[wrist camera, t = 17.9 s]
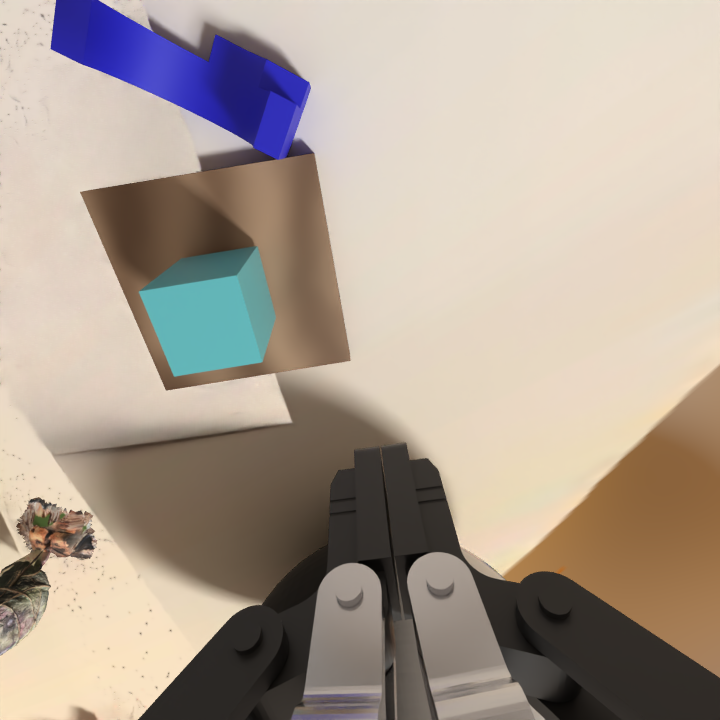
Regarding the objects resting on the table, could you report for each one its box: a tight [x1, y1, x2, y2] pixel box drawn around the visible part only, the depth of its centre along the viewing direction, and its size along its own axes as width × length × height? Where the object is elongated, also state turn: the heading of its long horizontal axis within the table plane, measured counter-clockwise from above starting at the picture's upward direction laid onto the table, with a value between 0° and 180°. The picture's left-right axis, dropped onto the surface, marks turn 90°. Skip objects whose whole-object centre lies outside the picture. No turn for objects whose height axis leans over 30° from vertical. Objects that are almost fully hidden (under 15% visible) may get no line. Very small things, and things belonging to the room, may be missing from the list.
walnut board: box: [80, 153, 351, 390], centre depth 32 cm, size 16×16×1 cm
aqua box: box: [139, 246, 276, 377], centre depth 28 cm, size 6×6×8 cm
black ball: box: [262, 545, 545, 720], centre depth 36 cm, size 30×30×30 cm
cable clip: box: [51, 0, 311, 160], centre depth 24 cm, size 12×4×6 cm, turn 65°
